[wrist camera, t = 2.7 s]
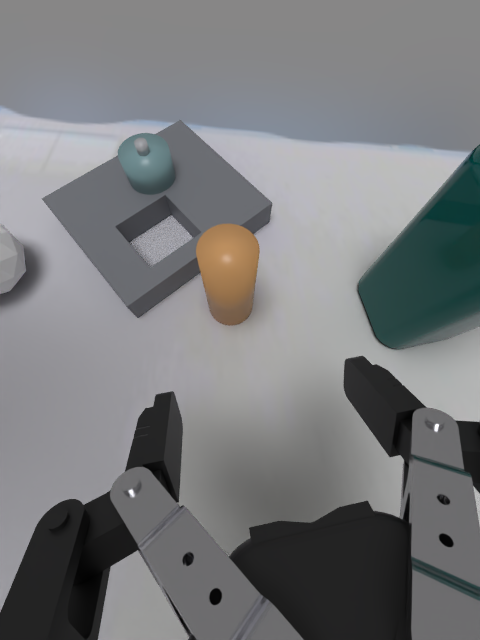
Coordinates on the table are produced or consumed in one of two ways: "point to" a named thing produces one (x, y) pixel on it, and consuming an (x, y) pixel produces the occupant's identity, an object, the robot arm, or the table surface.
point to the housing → (154, 209)
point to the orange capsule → (228, 271)
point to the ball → (10, 260)
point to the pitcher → (431, 268)
